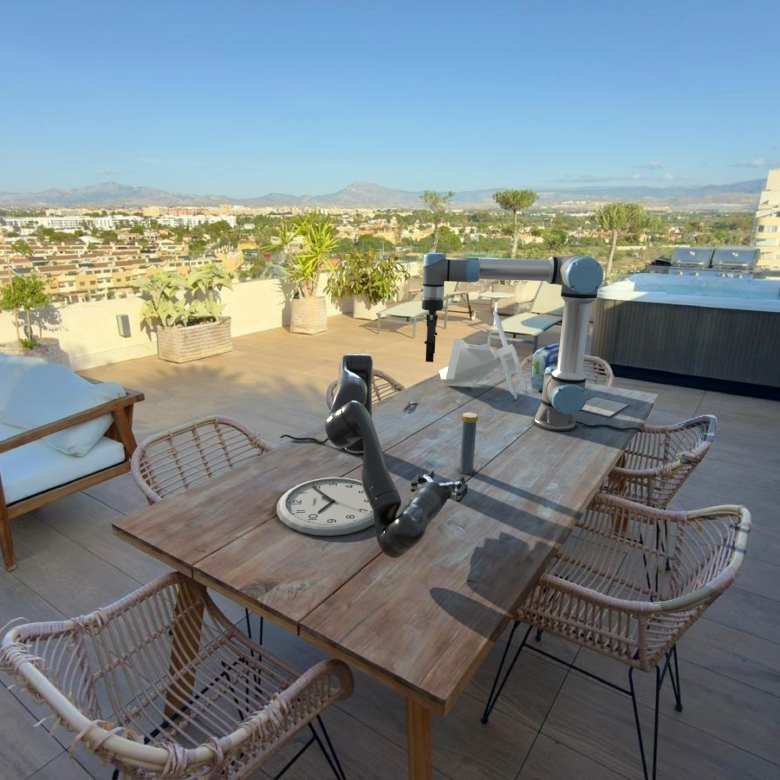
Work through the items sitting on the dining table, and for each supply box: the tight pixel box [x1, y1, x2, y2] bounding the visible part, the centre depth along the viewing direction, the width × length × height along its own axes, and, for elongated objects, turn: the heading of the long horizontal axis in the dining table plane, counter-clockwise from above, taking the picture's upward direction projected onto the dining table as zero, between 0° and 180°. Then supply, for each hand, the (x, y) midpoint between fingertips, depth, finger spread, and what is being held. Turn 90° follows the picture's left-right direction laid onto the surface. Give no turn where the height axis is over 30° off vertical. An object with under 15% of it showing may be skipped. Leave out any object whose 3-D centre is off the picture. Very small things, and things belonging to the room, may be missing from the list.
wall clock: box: [276, 476, 375, 537], centre depth 142 cm, size 30×2×30 cm
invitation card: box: [580, 396, 629, 418], centre depth 226 cm, size 21×1×15 cm
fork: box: [403, 395, 419, 411], centre depth 222 cm, size 3×16×2 cm, turn 160°
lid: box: [461, 412, 479, 423], centre depth 159 cm, size 5×5×2 cm
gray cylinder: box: [459, 420, 477, 475], centre depth 161 cm, size 4×4×18 cm
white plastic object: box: [438, 310, 531, 400], centre depth 245 cm, size 37×45×31 cm
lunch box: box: [530, 343, 560, 391], centre depth 249 cm, size 26×11×21 cm, turn 134°
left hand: (447, 476), depth 143 cm, fingers open, 8 cm apart
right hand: (430, 357), depth 190 cm, fingers open, 13 cm apart
